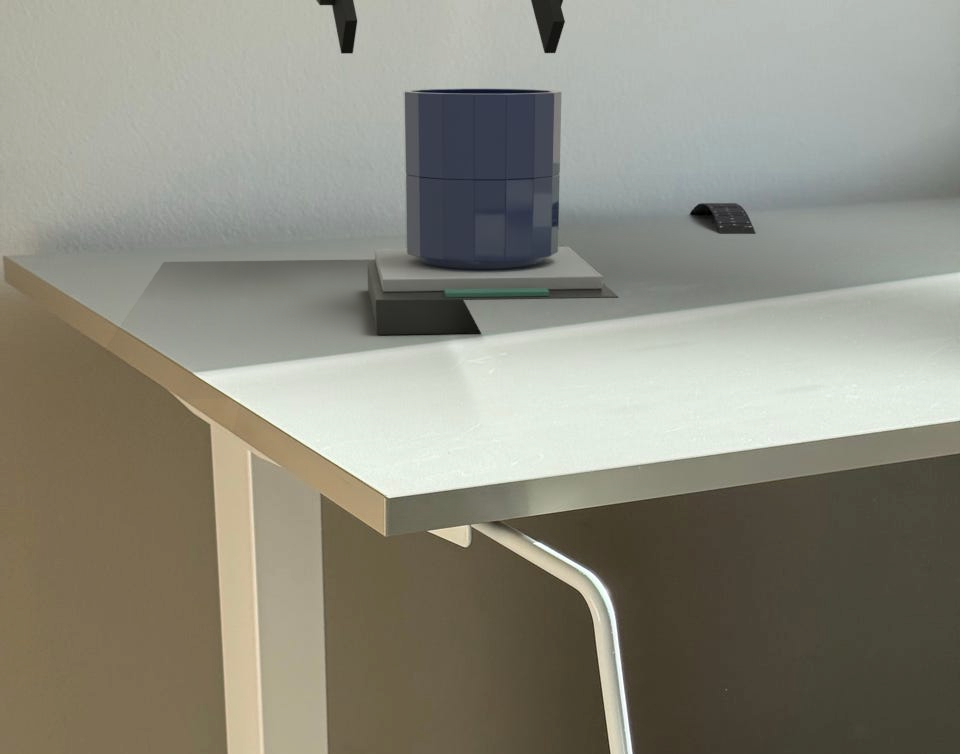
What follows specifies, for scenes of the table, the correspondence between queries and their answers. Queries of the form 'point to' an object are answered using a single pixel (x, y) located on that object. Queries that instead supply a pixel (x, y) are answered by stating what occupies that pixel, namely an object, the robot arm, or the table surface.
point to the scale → (466, 290)
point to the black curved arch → (727, 217)
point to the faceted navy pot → (482, 176)
